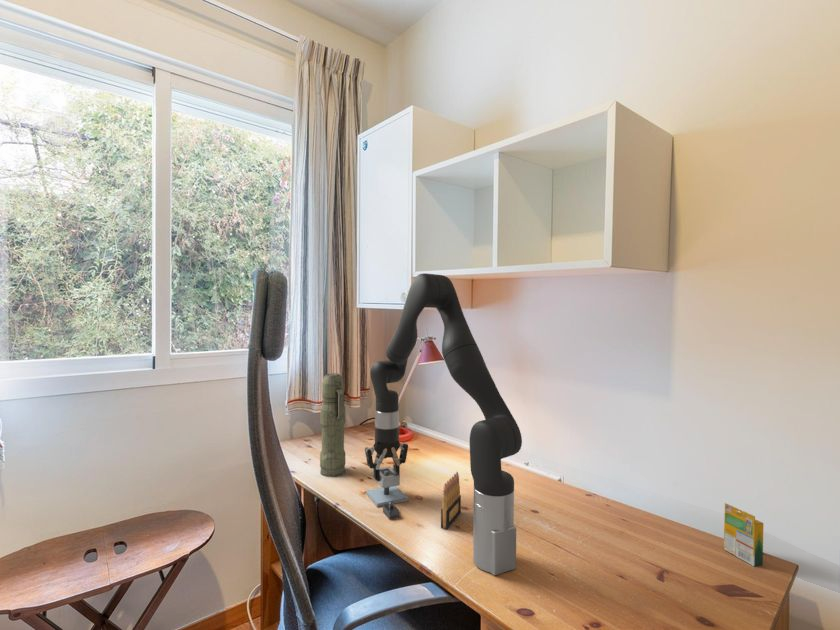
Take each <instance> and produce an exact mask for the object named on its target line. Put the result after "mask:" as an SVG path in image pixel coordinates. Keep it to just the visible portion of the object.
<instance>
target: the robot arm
mask: <svg viewBox="0 0 840 630" xmlns="http://www.w3.org/2000/svg"><path fill="white" fill-rule="evenodd" d="M402 308H403V309H402V313H401V315H400V319H399V321H398V325H397V327H396V329H395V332H394V334H393V336H392V338H391V340H390V341H389V344H388V346H387V348H386V350H385V354H386V357H387V359H388V360H379V361H376V362H374V363H373V364H372V365H371V368H370V374H369V375H370V380H371V383H372V387H373V388H372V389H373V391H374V396H375V414H374V415H375V416H374V443H373V446H371V447H367V446H366V447H365V448H364V451H365V452H364V453H365V458H366V463H367V466H368V467H369V468H370V469H373V479H374V480H375V482H377V481H380V469H379V468H381V465H382V464H383V461H384V459H387V458H389V459H392V461H393V466H392V467H393V468H392V469H393V470H394V471H395V472H397V473H398V474H399V475H400V469H401V468H400V467H401V465H402V464H405V463H406V462H407V456H408V450H409V444H408V443H406V442H405V441H403V442H400V413H399V393H398V392H397V391H396V390H391V389H389V388H388V384H392V383H398V382H400V381H401V380H402V379H404V378H403V377H404V376H405V374H406V369H407V365H408V359H409V357H410V355H411V353H412V352H413V350H414V348H415V346H416V344H417V341H418V325H417V324H418V323H417V322H418V318H419V316H420V315H421V314H422V311H423V310H424V309H425V308H430V309H432V308H433V309H434V308H436V310H437V311H438V313H439V315H440V317H441V319H442V324H443V336H442V341H441V342H442V343H441V354H442V356H443V360H444V362H445V364H446V367H447V370H448V372H449V375H450V376H451V378H452V379H453V380H454V382H455V383H456V384H457V385H458V386H459V387H460V388H461V389H462V390H463V391H464V392H466V393H467V394H468V395H469V396H470V397H471V399H473V400H474V401H475V403H476V404H477V406H478V407H479V409H480V411H481V413H482V414H483V416H484V419H483V420H479V421H477V422H475V423H474V424H473V426H472V427H471V430H470V433H469V460H470V461H469V462H470V465H469V466H470V472H471V473H470V474H471V476H472V480H473V520H472V521H473V522H472V523H473V533H472V534H473V535H472V536H473V537H472V538H473V540H472V543H473V548H472V550H473V552H472V555H473V556H472V558H473V559H472V560H473V563H474V565H475V566H476V567H477V568H478V569H480V570H482V571H484V572H487V573H490V574H491V575H493V576H498V575H500V574H503V573H507V572H510V571H513V570H515V569H517V527H516V526H515V525H514V522H515V514H514V513H515V479H514V476H513V475H512V474H510V473H509V472H507V471H505V470H503V469H502V459H505V458H508V457H512V456H514V455H516V454H518V453H519V452H520V451H521V449H522V445H523V439H522V438H523V436H522V433H521V429H520V427H519V425H518V423H517V421H516V420H515V418H514V416H513V413H511V410H510V408H509V407H508V406H507V403H506V402H505V400H504V398H503V397H502V395H501V393H500V391H499V390H498V388H497V386H496V383H495V381H494V379H493V377H492V375H491V373H490V371H489V369H488V366H487V365H486V364H487V363H486V361H485V360H484V357H483V355H482V353H481V350H480V348H479V346H478V343H477V342H476V341H475V338H474V336H473V334H472V331H471V329H470V327H469V324H468V322H467V319H466V317H465V315H464V312H463V309H462V306H461V304H460V301H459V296H458V293H457V291H456V288H455V286H454V284H453V282H452V280H451V279H450V278H449V277H448V276H445V275H442V274H434V273H420V274H417V276H415V277H414V278H413V281H412V282H411V284H410V286H409V289H408V292H407V296H406V299H405V303H404V306H403V307H402ZM399 450H400V453H399V456H398V453H397V452H398V451H399ZM374 452H375V453H376V454H375V457H374V460H373V455H374Z"/></svg>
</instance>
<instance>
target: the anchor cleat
mask: <svg viewBox="0 0 840 630" xmlns="http://www.w3.org/2000/svg"><path fill="white" fill-rule="evenodd" d="M382 514H384V515H385V516H386V517H387V518H388V520H394V519H398V518H400V509H399V508H398V507H397V506H396V505H395V503H394V504H393V501H389V504H385V505H383V506H382Z"/></svg>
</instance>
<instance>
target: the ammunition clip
mask: <svg viewBox="0 0 840 630" xmlns="http://www.w3.org/2000/svg"><path fill="white" fill-rule="evenodd" d="M442 492H443V493H442V502H441V503H442V505H441V507H442V508H441V509H440V511H441V512H440V529H444V530H448V529H450V527H451V526H452V525H453V524H454V522H455V521H456V519H457V518H458V517H459V516H460V515H461V513H462V500H461V499H462V496H461V486H460V475H459V472H458V471H456V472H455V474H453V476H451V478H449V479H448V480H447V481H446V482H445V483H444V485H443V491H442Z"/></svg>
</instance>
